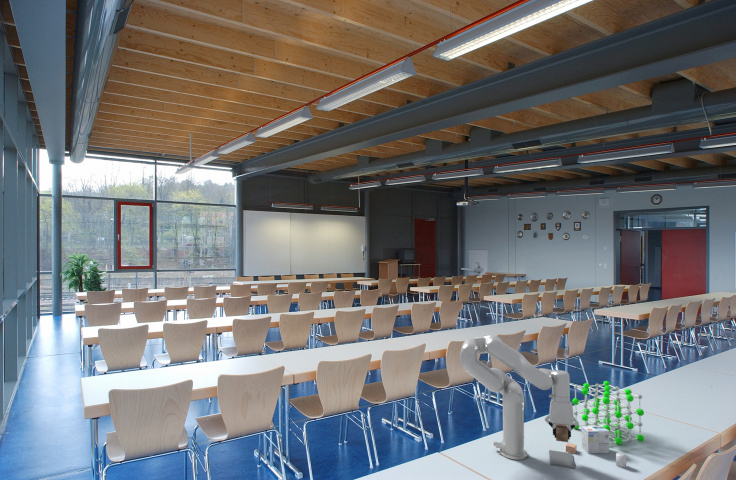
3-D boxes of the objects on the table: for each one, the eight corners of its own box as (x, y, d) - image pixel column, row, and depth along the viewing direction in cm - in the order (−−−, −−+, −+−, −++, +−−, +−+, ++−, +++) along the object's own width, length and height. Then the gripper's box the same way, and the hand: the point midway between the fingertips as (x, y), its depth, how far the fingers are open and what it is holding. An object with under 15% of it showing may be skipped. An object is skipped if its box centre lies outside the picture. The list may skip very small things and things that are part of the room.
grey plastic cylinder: (616, 467, 199) (616, 456, 199) (615, 463, 203) (615, 452, 203) (627, 468, 197) (627, 457, 197) (625, 464, 201) (625, 453, 201)
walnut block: (556, 440, 204) (556, 427, 204) (555, 436, 209) (555, 423, 209) (568, 442, 202) (567, 429, 202) (567, 437, 207) (567, 424, 207)
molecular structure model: (606, 448, 218) (606, 398, 218) (570, 428, 242) (570, 383, 242) (646, 442, 224) (645, 394, 225) (607, 423, 248) (606, 379, 249)
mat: (550, 464, 201) (550, 463, 201) (549, 451, 214) (549, 449, 214) (574, 468, 197) (574, 467, 197) (571, 455, 210) (571, 453, 210)
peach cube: (565, 451, 214) (565, 445, 214) (567, 448, 217) (567, 442, 217) (574, 454, 212) (574, 447, 212) (576, 450, 215) (576, 444, 215)
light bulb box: (602, 447, 219) (602, 425, 219) (610, 453, 212) (609, 430, 212) (580, 447, 218) (580, 425, 219) (588, 453, 212) (587, 431, 212)
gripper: (541, 398, 205) (542, 438, 205) (582, 402, 199) (583, 443, 199) (541, 393, 212) (542, 432, 212) (580, 397, 206) (581, 436, 206)
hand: (561, 437), depth 206 cm, fingers closed on walnut block, 5 cm apart
